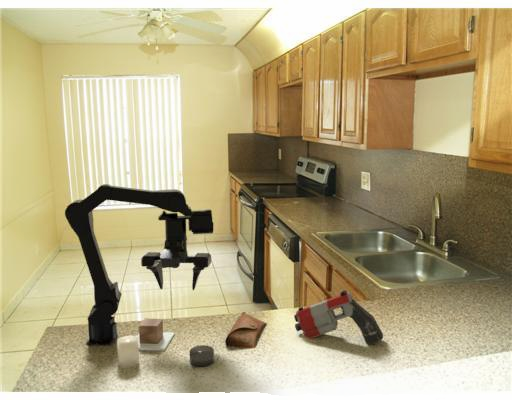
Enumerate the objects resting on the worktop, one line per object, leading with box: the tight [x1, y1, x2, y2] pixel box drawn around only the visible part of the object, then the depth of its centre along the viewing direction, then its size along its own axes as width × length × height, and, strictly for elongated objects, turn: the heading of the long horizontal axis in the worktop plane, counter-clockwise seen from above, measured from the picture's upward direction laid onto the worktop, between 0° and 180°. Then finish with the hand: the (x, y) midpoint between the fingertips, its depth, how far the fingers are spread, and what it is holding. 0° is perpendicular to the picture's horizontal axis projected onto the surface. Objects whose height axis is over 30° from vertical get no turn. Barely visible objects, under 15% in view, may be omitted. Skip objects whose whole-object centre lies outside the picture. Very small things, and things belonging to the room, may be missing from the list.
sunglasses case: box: [224, 311, 268, 349], centre depth 127 cm, size 18×7×7 cm
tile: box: [135, 331, 176, 352], centre depth 122 cm, size 10×10×1 cm
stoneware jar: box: [116, 335, 140, 369], centre depth 110 cm, size 5×5×6 cm
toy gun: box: [293, 290, 384, 345], centre depth 124 cm, size 5×22×15 cm, turn 74°
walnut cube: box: [138, 318, 164, 344], centre depth 122 cm, size 5×5×5 cm
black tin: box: [189, 344, 215, 369], centre depth 111 cm, size 6×6×3 cm
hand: (177, 289), depth 126 cm, fingers open, 9 cm apart
